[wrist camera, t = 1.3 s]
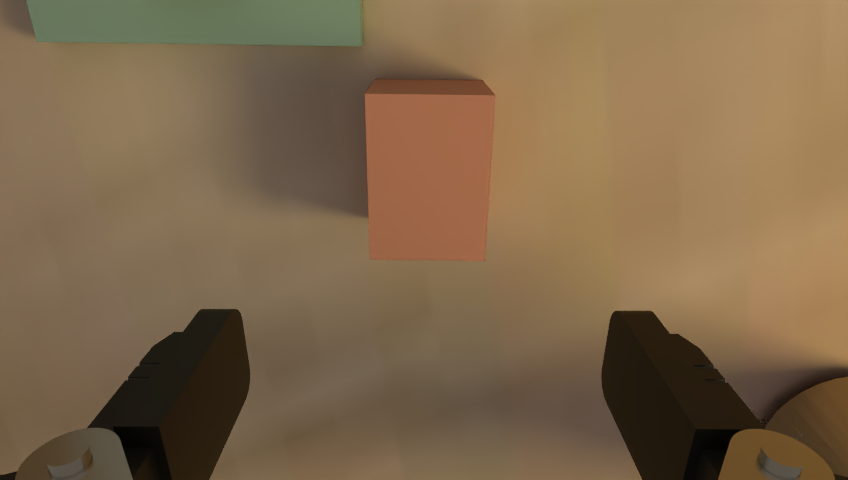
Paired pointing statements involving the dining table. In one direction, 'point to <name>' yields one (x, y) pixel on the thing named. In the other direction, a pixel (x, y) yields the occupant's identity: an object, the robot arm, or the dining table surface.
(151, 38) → the baseplate
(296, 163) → the dining table surface
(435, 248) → the red brick
